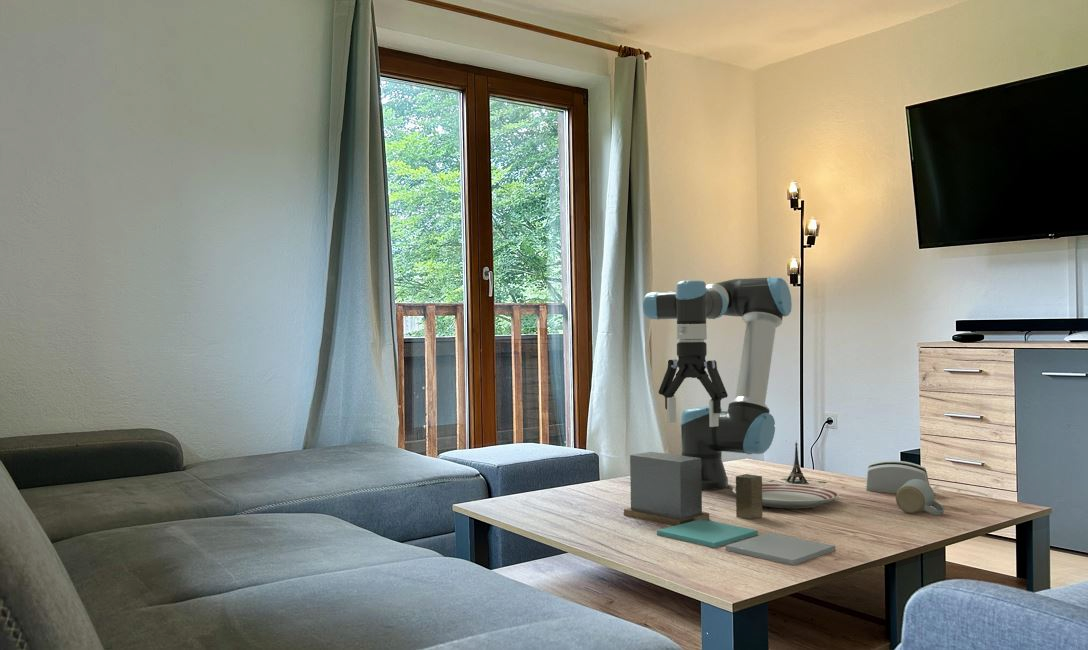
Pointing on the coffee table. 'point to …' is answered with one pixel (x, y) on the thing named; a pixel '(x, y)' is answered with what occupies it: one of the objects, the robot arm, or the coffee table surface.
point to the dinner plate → (794, 495)
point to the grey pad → (780, 548)
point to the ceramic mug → (917, 498)
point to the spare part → (749, 496)
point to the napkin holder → (893, 475)
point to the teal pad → (707, 533)
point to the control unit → (666, 488)
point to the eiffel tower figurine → (798, 473)
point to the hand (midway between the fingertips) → (692, 424)
